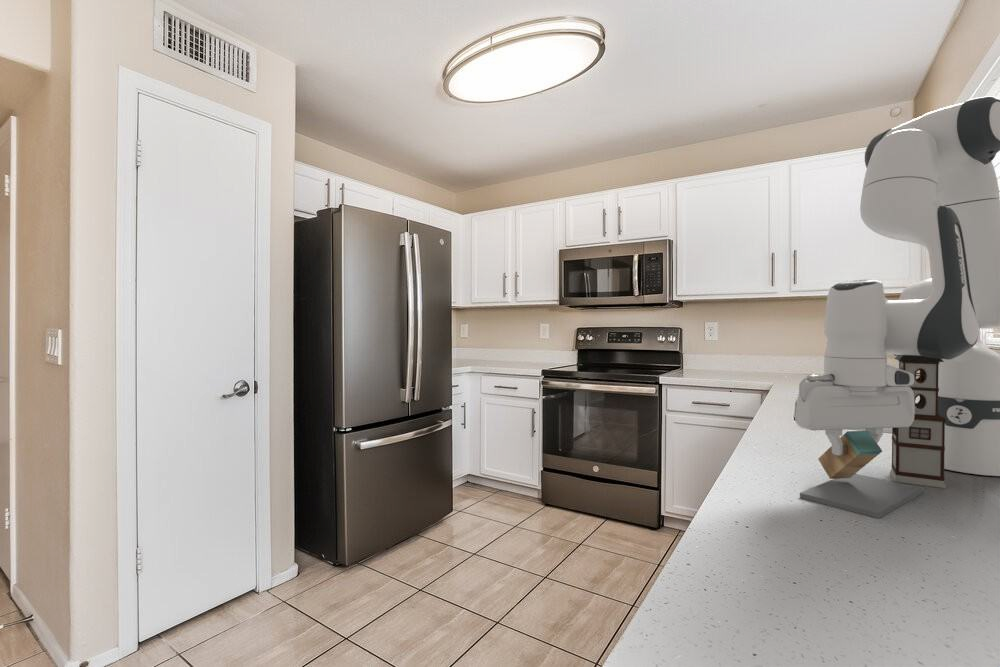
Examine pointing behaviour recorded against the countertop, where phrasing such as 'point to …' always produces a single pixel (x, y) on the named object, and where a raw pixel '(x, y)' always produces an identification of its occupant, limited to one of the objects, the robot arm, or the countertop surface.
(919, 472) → the miniature building
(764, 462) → the countertop surface
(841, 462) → the oak block
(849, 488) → the rubber mat
